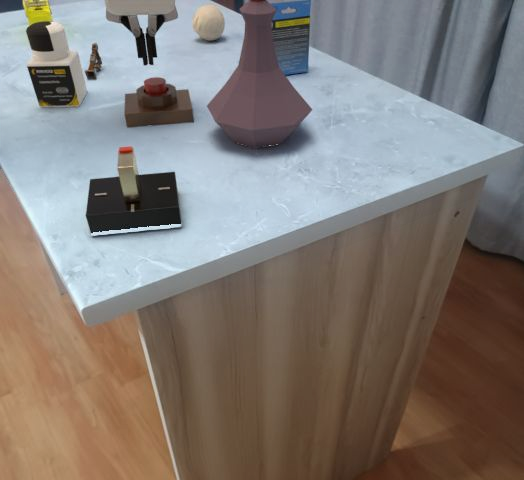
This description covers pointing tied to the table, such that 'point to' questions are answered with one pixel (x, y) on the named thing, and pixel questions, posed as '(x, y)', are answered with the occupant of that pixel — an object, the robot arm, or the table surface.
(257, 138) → the flask
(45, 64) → the medicine bottle
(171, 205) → the lever switch base
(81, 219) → the table surface
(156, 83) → the button
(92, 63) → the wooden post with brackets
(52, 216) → the table surface
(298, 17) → the blue product box
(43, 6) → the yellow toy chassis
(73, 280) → the table surface
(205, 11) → the beige ball
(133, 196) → the beige two-tone block
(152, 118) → the button block
